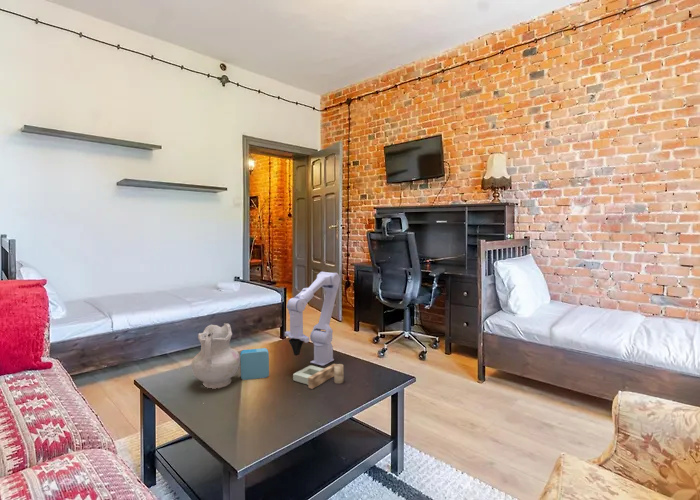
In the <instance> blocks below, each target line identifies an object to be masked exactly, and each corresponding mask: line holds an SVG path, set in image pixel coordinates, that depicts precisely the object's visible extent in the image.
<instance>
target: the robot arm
mask: <svg viewBox="0 0 700 500" xmlns="http://www.w3.org/2000/svg"><path fill="white" fill-rule="evenodd" d="M340 283H341V277H340V275H339V273H338V272H327V271H320V272H319V273H318V274H316V278H315V280H314V281H313V282H312V283H311V284H310V285H309V286H308V287H304V288H302V289H301V291H300V292H299V293H297V294H296V295H295V296H294V297H291V298H290V299H288V301H287V304H286V309H287V310H288V314H289V330H288V331H284V337H288V343H289V344H290V346H291V348H292V352H293V355H294V356H299V355H300V353H301V350H302V347H303V344H304V343H309V342H310V341H311V342H312V345H313V360H310V362H309V363H310V364H314V365H319V366H322V367H324V366H325V365H327V364H329V363H331V362H333V361H335V358H334V352H333V351H334V348H333V345H332V342H333V332H334V330H333V328H332V327H331V326H330V324H331V319H332V315H333V310H334V308H335V303H336V302H335V301H336V298H337V294H338V290H339V287H340ZM320 288H322V289H324V291H325V296H324V299H323V303H322V307H321V312H320V316H319V321H318V323H316V324H315V325H313V328H312V331H311V333H310V336H307V335H305V334H304V319H303V318H304V316H303V315H304V314H303V312H304V311H305V309H306V306H307V304H308V303H309V302H310V300H312V299H313V298H314V294H315V293H316V292H317V291H318V290H319V289H320Z"/></svg>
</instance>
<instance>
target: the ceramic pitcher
mask: <svg viewBox="0 0 700 500" xmlns="http://www.w3.org/2000/svg"><path fill="white" fill-rule="evenodd" d="M231 326H232V325H231V324H230V323H226V322H224V323H223V325H222V326H219V325H217V324H209V325H207V326H206V327H205V328H204V330H203V332H199V333H198V334H197V339H198V341H199V343H200V346H201V347H200V351H198V353H196V355H195V356H194V357H193V358H192V361H191V363H190V365H191V366H190V367H191V371H192V374H193V375H194V377H195V378H196V379H198V381H201V382H202V384H203V385H204V386H205V387H207V388H206V389H208V388H212V390H213V389H215V390H216V388H218V389H221V388H224V387H227V386H230V384H232V383H231V382H232V377H234V376H235V375H236V374H237V373H238V371H239V368H240V367H241V365H240V353H239V352H238V351H237V350H235V349H234V348H232V347H231V346H230V344H231V338H232V336H233V331H232V328H231ZM203 385H202V386H203ZM204 386H203V387H204ZM205 387H204V388H205Z"/></svg>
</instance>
